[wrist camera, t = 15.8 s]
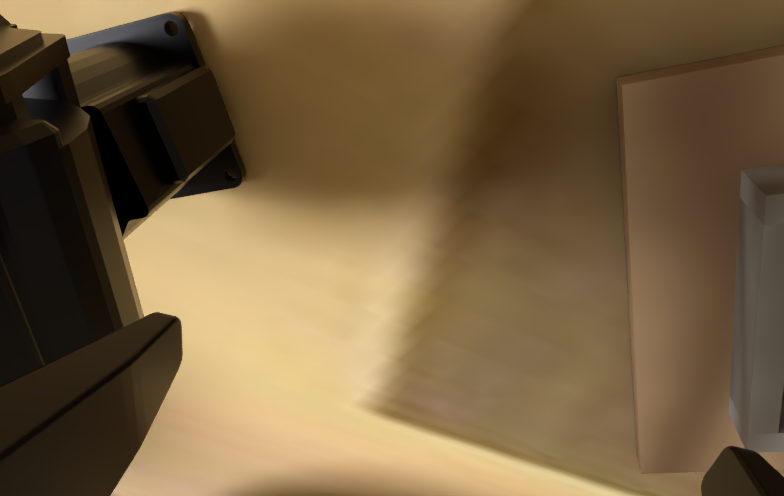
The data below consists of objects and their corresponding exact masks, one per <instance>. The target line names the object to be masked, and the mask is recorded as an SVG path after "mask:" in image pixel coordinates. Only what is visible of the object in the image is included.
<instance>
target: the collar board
mask: <svg viewBox="0 0 784 496" xmlns="http://www.w3.org/2000/svg"><path fill="white" fill-rule="evenodd" d="M616 84H617V102H618V121H619V139H620V158H621V176H622V195H623V213H624V231H625V250H626V268H627V287H628V305H629V324H630V342H631V361H632V379H633V397H634V416H635V434H636V453H637V459H638V463H639V467H640V470H641V474H645V473H678V472H708V470H709V469H710V467H711V466H712V464H713V463H714V462H715V460H716V459H717V457H718V456H719V455H720V453H721V452H722V450H723V449H724V448H726V447H728V446H736V447H740V448H745V449H749V450H753V451H755V452H757V453H759V454H760V455H761V456H762V457H763V458H764V459H765V460H766V461H767V462H768V463H769V464H770V465H771V466H772V467H774V468H775V469H776V470H779V469H784V45H782V46H777V47H772V48H766V49H761V50H756V51H751V52H746V53H741V54H735V55H730V56H725V57H720V58H715V59H709V60H704V61H699V62H694V63H689V64H684V65H678V66H673V67H668V68H663V69H658V70H652V71H647V72H642V73H637V74H632V75H627V76H621V77H616Z"/></svg>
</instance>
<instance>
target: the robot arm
mask: <svg viewBox="0 0 784 496" xmlns="http://www.w3.org/2000/svg"><path fill="white" fill-rule="evenodd" d="M171 21H172V22H174V23H175V24H176V25H177V27H178V34H175V33H173V32H172V30H171V29H170V22H171ZM234 137H235V131H234V129H233V126H232V123H231V121H230V118H229V115H228V113H227V110H226V108H225V105H224V102H223V100H222V97H221V94H220V92H219V89H218V87H217V84H216V81H215V79H214V76H213V73H212V71H211V70H209V69H208V68H207V67H206V66H205V63H204V61H203V58H202V55H201V53H200V50H199V48H198V45H197V42H196V40H195V37H194V35H193V32H192V29H191V27H190V24H189V22H188V20H187V19H186V18H185V17H184V16H183V15H182V14H181V13H178V12H168V13H165V14H161V15H157V16H153V17H150V18H146V19H142V20H139V21H135V22H131V23H127V24H124V25H120V26H116V27H113V28H109V29H105V30H101V31H98V32H94V33H90V34H87V35H83V36H79V37H75V38H72V39H68V40H66V38H65V35H63V34H43V33H41V31H36V30H27V29H18V28H17V25H16V24H10V23H9V22H8V21H7V20H6V19H5V18H4V17H3V16H1V15H0V496H110V495H111V493H112V492H113V490H114V489H115V487H116V486H117V484H118V482H119V481H120V479H121V478H122V476H123V474H124V473H125V471H126V470H127V468H128V467H129V465H130V463H131V462H132V460H133V458H134V457H135V455H136V453H137V452H138V450H139V448H140V447H141V445H142V443H143V441H144V439H145V437H146V435H147V433H148V431H149V429H150V427H151V425H152V423H153V421H154V419H155V417H156V414H157V412H158V410H159V408H160V406H161V404H162V402H163V400H164V398H165V396H166V394H167V392H168V390H169V388H170V386H171V384H172V382H173V380H174V378H175V376H176V373H177V371H178V369H179V367H180V364H181V361H182V354H183V351H182V327H181V321H180V319H179V318H178V317H176V316H172V315H168V314H163V313H158V312H155V313H152V314H149V315H147V316H145V317H144V315H143V311H142V308H141V304H140V300H139V297H138V293H137V289H136V285H135V282H134V278H133V274H132V271H131V267H130V263H129V259H128V256H127V252H126V248H125V245H124V241H123V240H124V239H125V238H126V237H127V236H128V235H129V234H130V233H132V232H133V231H134V230H135V229H136V228H137V227H138V226H140V225H141V224H142V223H143V222H144V221H145V220H146V219H147V218H149V217H150V216H151V215H152V214H153V213H154V212H155V211H157V210H158V209H159V208H160V207H161V206H162V205H163V204H164V203H166V202H167V201H168V200H169V199H172V198H178V197H184V196H190V195H195V194H201V193H207V192H212V191H218V190H224V189H230V188H235V187H237V186H239V185H240V184H241V183H242V182H243V181H244V180H245V178H246V170H245V167H244V165H243V162H242V159H241V157H240V154H239V152H238V149H237V146H236V144H235V141H234ZM228 170H232V171H233V172H234V173H235V174H236V178H233V177H231V176H230V175H229V173H228ZM701 494H702V496H784V477H783V476H782V475H781V474H780V473H779V472H778V471H777V470H776V469H775V468H774V467H772V466H771V465H770V464H769V463H768V462H767V461H766V460H765V459H764V458H763V457H762V456H761V455H760V454H759V453H757V452H755V451H753V450H749V449H745V448H740V447H736V446H728V447H726V448H724V449H723V450H722V452H721V453H720V455H719V456H718V457H717V459H716V460H715V462H714V463H713V464H712V466H711V467H710V469H709V470H708V472H707V473H706V474H705V476H704V478H703V481H702V485H701Z"/></svg>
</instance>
